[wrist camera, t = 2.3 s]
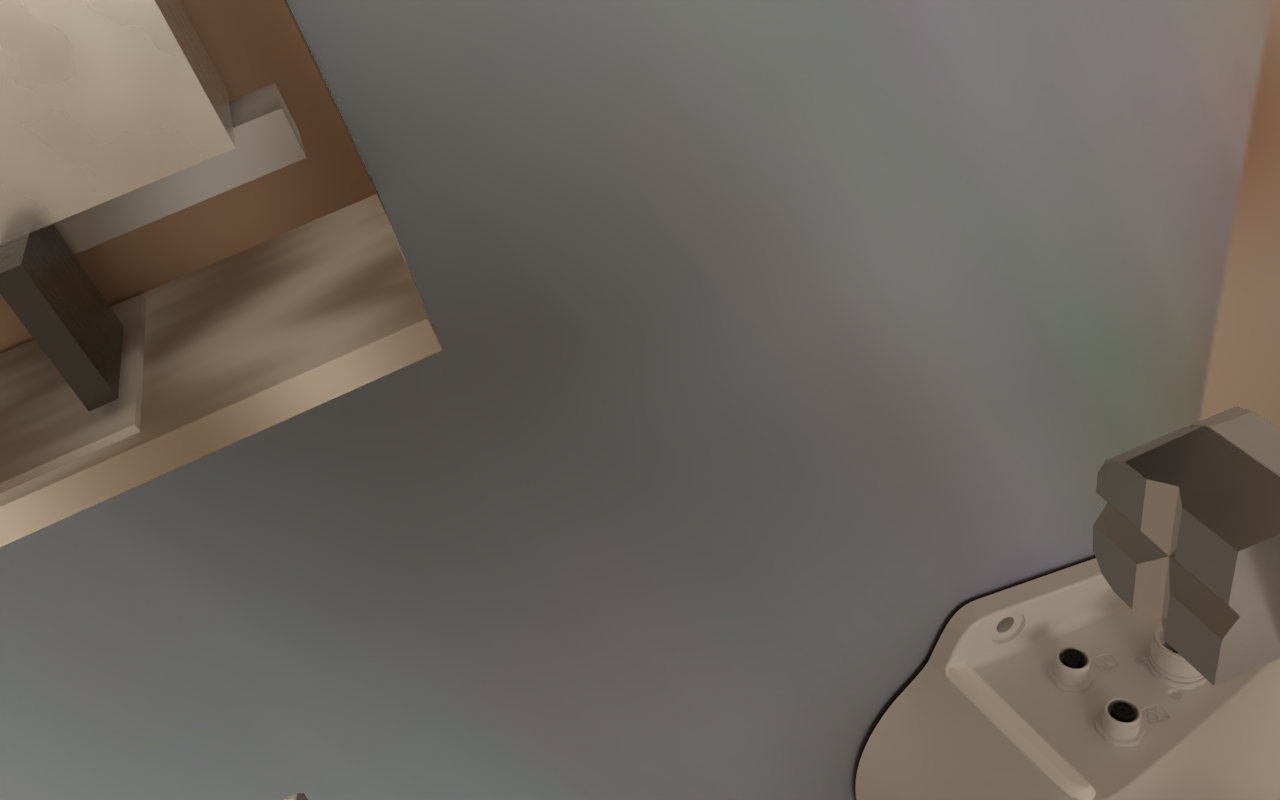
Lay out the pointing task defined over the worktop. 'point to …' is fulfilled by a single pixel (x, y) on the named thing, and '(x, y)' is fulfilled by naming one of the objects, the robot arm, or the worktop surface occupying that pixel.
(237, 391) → the gauge bench
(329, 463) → the worktop surface
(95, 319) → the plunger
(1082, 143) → the worktop surface
